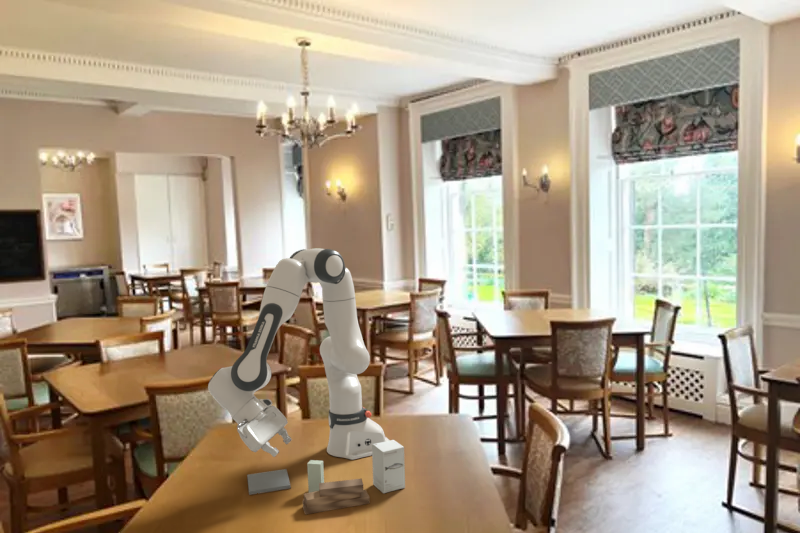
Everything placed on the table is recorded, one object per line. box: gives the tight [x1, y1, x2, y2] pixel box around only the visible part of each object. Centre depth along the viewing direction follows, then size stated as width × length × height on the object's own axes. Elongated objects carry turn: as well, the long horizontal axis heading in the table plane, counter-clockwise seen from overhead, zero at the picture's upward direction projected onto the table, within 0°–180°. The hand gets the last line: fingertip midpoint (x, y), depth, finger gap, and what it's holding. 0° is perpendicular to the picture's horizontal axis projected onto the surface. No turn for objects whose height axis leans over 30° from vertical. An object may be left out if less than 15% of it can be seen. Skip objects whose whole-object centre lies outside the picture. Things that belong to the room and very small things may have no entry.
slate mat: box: [246, 468, 291, 496], centre depth 178 cm, size 12×12×1 cm
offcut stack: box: [302, 478, 371, 515], centre depth 162 cm, size 18×6×6 cm, turn 107°
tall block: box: [306, 459, 325, 493], centre depth 171 cm, size 2×4×9 cm, turn 79°
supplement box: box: [371, 439, 406, 494], centre depth 173 cm, size 7×7×13 cm
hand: (283, 448), depth 172 cm, fingers open, 8 cm apart
